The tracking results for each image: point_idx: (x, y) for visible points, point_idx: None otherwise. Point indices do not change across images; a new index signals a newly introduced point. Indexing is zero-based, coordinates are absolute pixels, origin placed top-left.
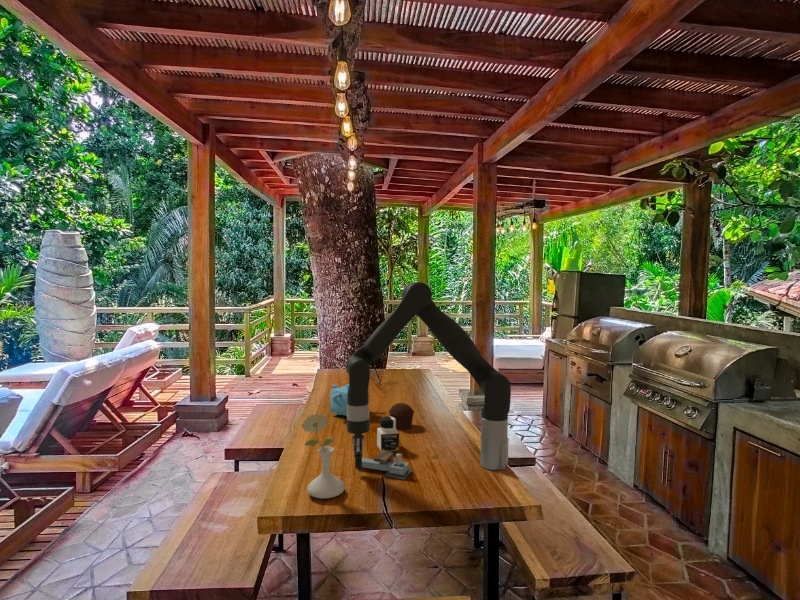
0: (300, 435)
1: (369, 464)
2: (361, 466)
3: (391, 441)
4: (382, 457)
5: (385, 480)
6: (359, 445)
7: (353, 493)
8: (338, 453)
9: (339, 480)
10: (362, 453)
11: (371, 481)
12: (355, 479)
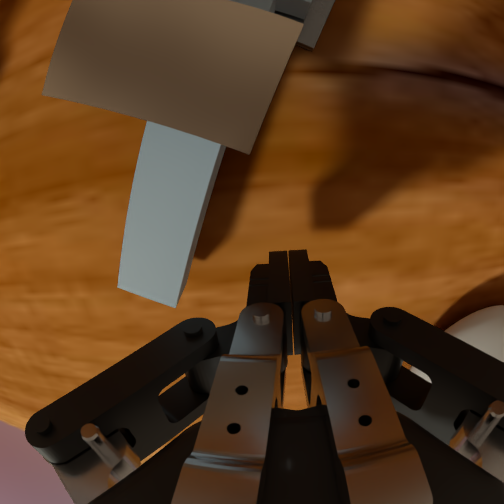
0: (10, 420)
1: (209, 188)
2: (307, 256)
3: None
4: (219, 55)
5: (377, 54)
6: (496, 450)
7: (499, 252)
8: (46, 351)
9: (500, 350)
10: (268, 315)
11: (393, 153)
12: (355, 258)
